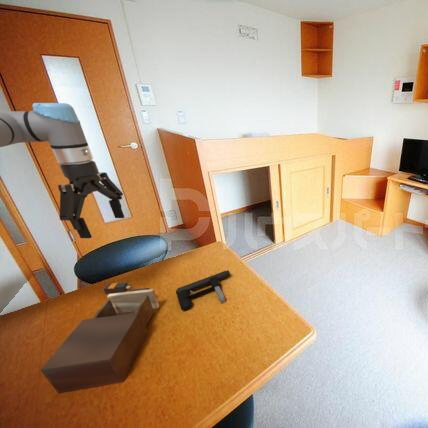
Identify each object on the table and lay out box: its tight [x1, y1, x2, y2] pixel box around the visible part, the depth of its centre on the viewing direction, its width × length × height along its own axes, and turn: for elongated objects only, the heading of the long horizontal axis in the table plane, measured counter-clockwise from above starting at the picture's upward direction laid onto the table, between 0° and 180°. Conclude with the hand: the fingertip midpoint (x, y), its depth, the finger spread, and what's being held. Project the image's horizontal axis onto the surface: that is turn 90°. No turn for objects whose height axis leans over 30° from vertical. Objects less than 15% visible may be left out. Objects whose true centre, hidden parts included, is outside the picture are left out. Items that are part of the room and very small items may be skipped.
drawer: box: [92, 287, 160, 327], centre depth 78 cm, size 18×13×8 cm
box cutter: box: [103, 281, 131, 295], centre depth 92 cm, size 8×3×3 cm, turn 101°
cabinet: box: [39, 312, 149, 394], centre depth 66 cm, size 15×15×10 cm
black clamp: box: [175, 269, 231, 311], centre depth 91 cm, size 3×20×16 cm
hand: (104, 227), depth 77 cm, fingers open, 13 cm apart
